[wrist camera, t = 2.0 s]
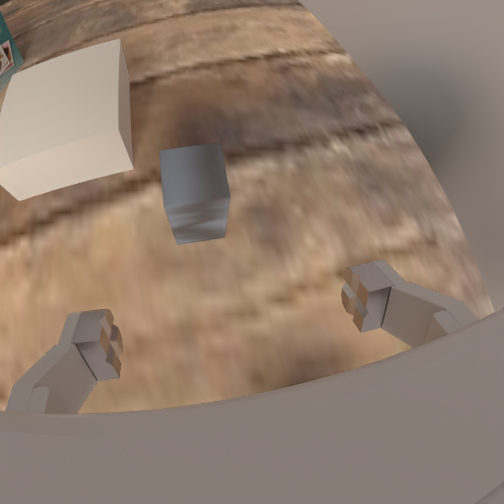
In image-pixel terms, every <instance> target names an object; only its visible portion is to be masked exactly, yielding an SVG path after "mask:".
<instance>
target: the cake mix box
mask: <svg viewBox="0 0 504 504" xmlns="http://www.w3.org/2000/svg"><path fill="white" fill-rule="evenodd" d="M23 63H24V60H23V58H22V56H21V54H20V52H19V50H18V48H17V46H16V44H15V42H14V40H13V38H12V36H11V34H10V31H9V29H8V27H7V25H6V23H5V20H4V18H3V16H2V14H1V11H0V93H1V92H2V90H3V89H4V88H5V86H6V85H7V83H8V82H9V81H10V79H11V77H12V75H14V74H15V73H16V71H17V70H18V69H19V68H20V66H21V65H22V64H23Z"/></svg>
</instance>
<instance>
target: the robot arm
mask: <svg viewBox="0 0 504 504" xmlns="http://www.w3.org/2000/svg"><path fill="white" fill-rule="evenodd" d="M343 278H344V280H345V281H346V283H345V284H344V286H343V287H342V293H341V297H342V303H343V305H344V308H345V309H346V311H347V313H349V314H352V315H354V316H353V322H354V323H355V325H356V326H357V328H358V329H359V331H360V332H361V333H362V332H366V331H370V330H374V329H378V328H381V327H382V328H381V329H383V330H385V331H386V332H388V333H390V334H391V335H393V336H395V337H396V338H398V339H400V340H401V341H403V342H405V343H406V344H408V345H410V346H411V347H413V348H412V349H410V350H407V351H404V352H402V353H399V354H396V355H394V356H391V357H388V358H385V359H382V360H379V361H376V362H373V363H370V364H367V365H364V366H361V367H358V368H355V369H351V370H348V371H345V372H341V373H338V374H335V375H331V376H328V377H324V378H320V379H317V380H313V381H309V382H305V383H301V384H297V385H293V386H289V387H285V388H280V389H276V390H272V391H267V392H262V393H258V394H253V395H248V396H242V397H237V398H232V399H226V400H220V401H214V402H208V403H201V404H194V405H187V406H179V407H171V408H162V409H152V410H141V411H129V412H113V413H86V414H76V413H77V412H78V410H79V409H80V407H81V406H82V404H83V403H84V401H85V400H86V398H87V397H88V396H89V394H90V393H91V391H92V390H93V388H94V387H95V385H96V384H97V381H101V380H110V379H119V378H120V370H121V362H120V360H119V357H120V356H121V355H122V352H123V343H122V337H121V333H120V331H119V328H118V327H117V326H115V325H114V324H113V320H114V317H113V315H112V313H111V310H109V309H100V310H91V311H83V312H75V313H70V314H69V315H68V316H67V319H66V322H65V325H64V328H63V331H62V334H61V337H60V340H59V343H58V345H55V346H53V347H52V348H51V349H50V350H49V351H48V352H47V353H46V354H45V355H44V356H43V357H42V358H41V359H40V360H39V361H38V362H37V363H36V364H34V365H33V366H32V367H31V368H30V369H29V370H28V371H27V372H26V373H25V374H24V375H23V376H22V377H21V378H20V379H19V380H18V381H17V382H16V383H15V384H14V385H13V388H12V391H11V394H10V397H9V400H8V404H7V407H6V411H0V504H504V308H502V309H500V310H498V311H496V312H494V313H492V314H490V315H488V316H486V317H484V318H482V319H479V318H478V317H477V316H476V315H475V314H474V313H473V312H472V311H471V310H470V309H469V308H468V307H467V306H466V305H465V304H464V303H463V302H462V301H459V300H457V299H454V298H451V297H449V296H446V295H444V294H441V293H438V292H436V291H433V290H430V289H428V288H425V287H422V286H420V285H417V284H414V283H412V282H407V283H406V282H405V280H404V279H403V278H402V277H401V276H400V275H399V274H398V273H397V272H396V271H395V270H394V269H393V268H392V267H391V266H390V265H389V264H388V263H387V262H386V261H385V260H382V259H380V260H376V261H372V262H370V263H365V264H361V265H356V266H351V267H346V268H345V270H344V274H343Z"/></svg>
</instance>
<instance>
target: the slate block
mask: <svg viewBox="0 0 504 504" xmlns="http://www.w3.org/2000/svg"><path fill="white" fill-rule="evenodd" d="M159 152H160V166H161V179H162V190H163V201H164V208H165V211H166V214H167V217H168V220H169V222H170V225H171V228H172V231H173V234H174V237H175V240H176V242H177V245H180V244H186V243H193V242H199V241H206V240H212V239H219V238H225V233H226V225H227V218H228V210H229V203H230V192H229V187H228V181H227V176H226V170H225V165H224V159H223V154H222V148H221V143H220V142H219V143H211V144H203V145H195V146H188V147H181V148H174V149H167V150H161V151H159Z"/></svg>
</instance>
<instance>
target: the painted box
mask: <svg viewBox="0 0 504 504" xmlns="http://www.w3.org/2000/svg"><path fill="white" fill-rule="evenodd" d="M132 169H134V165H133V152H132V137H131V117H130V78H129V74H128V70H127V66H126V61H125V57H124V52H123V48H122V43H121V39H116V40H112V41H108V42H104V43H101V44H97V45H93V46H90V47H87V48H83V49H80V50H77V51H74V52H71V53H68V54H65V55H62V56H59V57H56V58H53V59H50V60H48V61H45V62H42V63H40V64H37V65H35V66H32V67H30V68H27V69H25V70H23V71H20V72H18V73H16V74H14V75H12V77H11V80H10V83H9V86H8V89H7V92H6V95H5V99H4V102H3V105H2V109H1V112H0V185H1V186H2V187H4V188H5V189H6V190H7V191H8V192H9V193H10V194H11V195H13V196H14V197H15V198H16V199H17V200H18V201H21V200H24V199H27V198H30V197H33V196H36V195H39V194H42V193H46V192H49V191H52V190H55V189H59V188H62V187H66V186H69V185H73V184H76V183H80V182H84V181H87V180H91V179H95V178H99V177H103V176H107V175H111V174H115V173H119V172H123V171H128V170H132Z"/></svg>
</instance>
